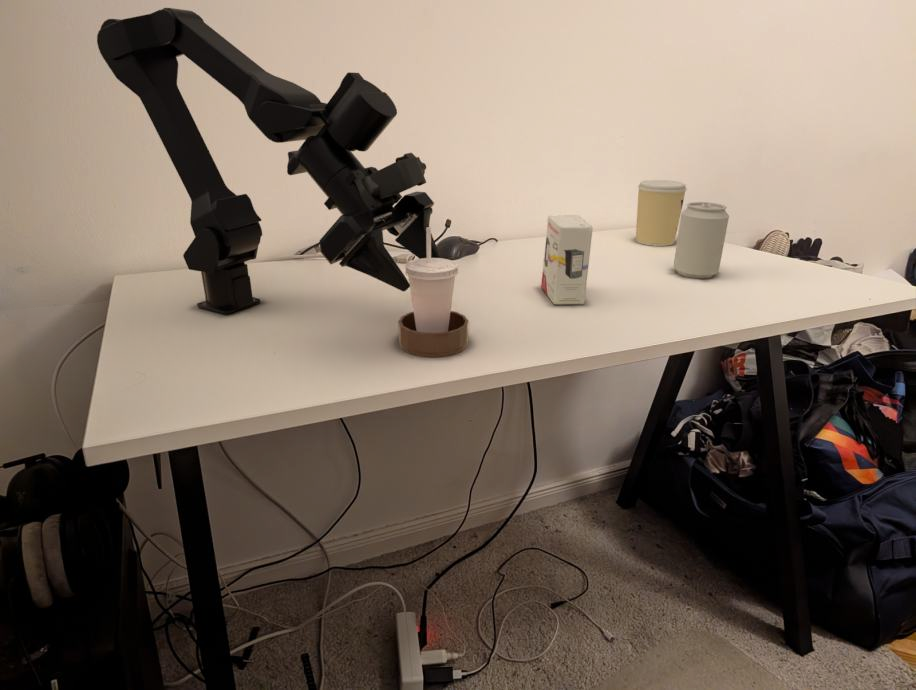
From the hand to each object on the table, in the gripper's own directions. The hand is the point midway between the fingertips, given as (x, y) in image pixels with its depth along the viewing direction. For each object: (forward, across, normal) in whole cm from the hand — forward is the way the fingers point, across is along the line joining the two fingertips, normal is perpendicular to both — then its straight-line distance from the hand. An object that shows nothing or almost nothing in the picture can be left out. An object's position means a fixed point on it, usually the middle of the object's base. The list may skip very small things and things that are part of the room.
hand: (425, 278), depth 73 cm
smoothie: (+6, 0, +5) cm, 8 cm away
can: (+26, +47, -15) cm, 56 cm away
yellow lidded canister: (+20, +68, -8) cm, 71 cm away
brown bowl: (+7, 0, +5) cm, 8 cm away
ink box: (+14, +25, -2) cm, 29 cm away
